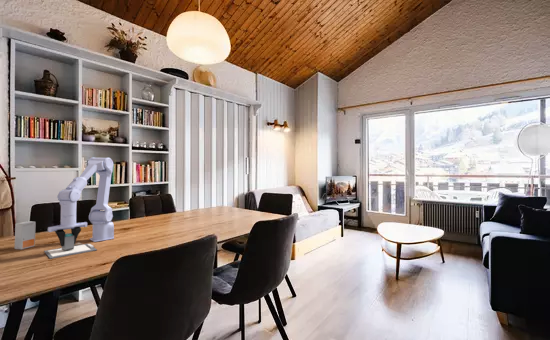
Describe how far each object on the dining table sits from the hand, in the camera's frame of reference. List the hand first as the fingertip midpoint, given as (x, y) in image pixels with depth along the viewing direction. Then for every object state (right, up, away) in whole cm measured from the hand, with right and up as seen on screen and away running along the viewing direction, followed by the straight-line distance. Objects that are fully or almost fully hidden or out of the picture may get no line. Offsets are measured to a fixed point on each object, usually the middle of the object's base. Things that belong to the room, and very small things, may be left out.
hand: (68, 244), depth 123 cm
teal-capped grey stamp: (0, -2, 0) cm, 2 cm away
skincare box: (-24, -3, +4) cm, 24 cm away
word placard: (-5, -3, +10) cm, 12 cm away
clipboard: (+1, -3, +1) cm, 3 cm away
